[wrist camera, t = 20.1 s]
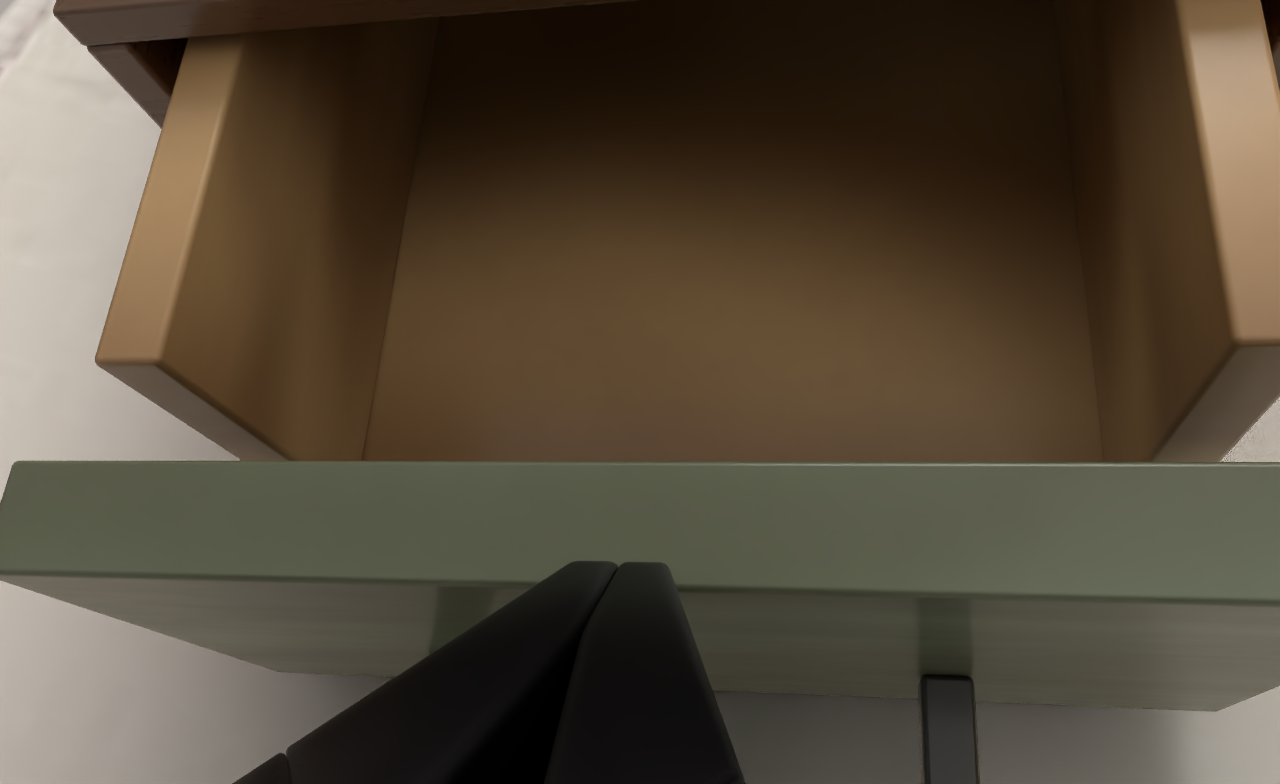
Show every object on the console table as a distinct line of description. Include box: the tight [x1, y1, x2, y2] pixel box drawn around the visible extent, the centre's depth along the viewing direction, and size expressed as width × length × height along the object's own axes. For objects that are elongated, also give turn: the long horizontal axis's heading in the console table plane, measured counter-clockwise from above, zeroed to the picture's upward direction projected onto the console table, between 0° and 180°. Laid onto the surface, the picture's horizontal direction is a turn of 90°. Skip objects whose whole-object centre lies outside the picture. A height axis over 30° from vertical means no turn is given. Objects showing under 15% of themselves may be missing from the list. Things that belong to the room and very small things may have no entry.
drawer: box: [0, 0, 1280, 784], centre depth 14 cm, size 18×13×6 cm
